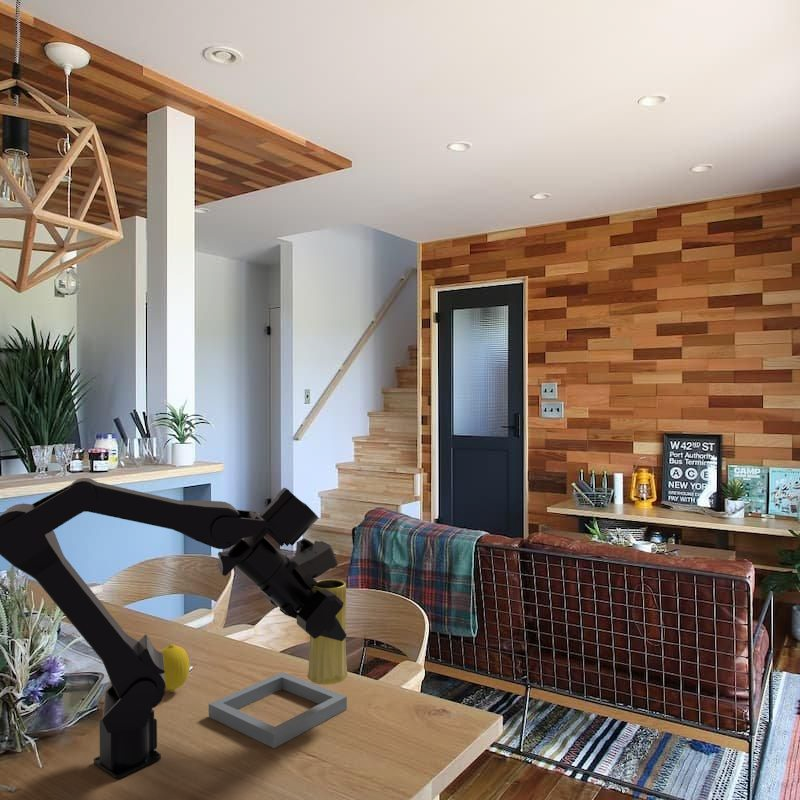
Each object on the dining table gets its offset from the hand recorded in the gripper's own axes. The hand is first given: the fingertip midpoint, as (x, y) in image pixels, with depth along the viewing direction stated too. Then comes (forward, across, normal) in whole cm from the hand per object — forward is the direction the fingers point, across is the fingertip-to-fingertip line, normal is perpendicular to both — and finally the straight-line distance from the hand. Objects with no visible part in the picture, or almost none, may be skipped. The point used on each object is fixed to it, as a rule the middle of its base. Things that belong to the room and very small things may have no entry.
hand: (336, 632), depth 105 cm
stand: (+4, +6, +14) cm, 16 cm away
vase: (+4, 0, +6) cm, 7 cm away
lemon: (-4, +21, +24) cm, 32 cm away
